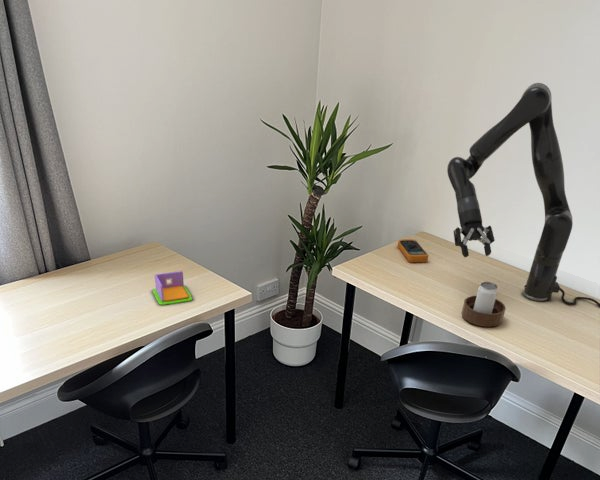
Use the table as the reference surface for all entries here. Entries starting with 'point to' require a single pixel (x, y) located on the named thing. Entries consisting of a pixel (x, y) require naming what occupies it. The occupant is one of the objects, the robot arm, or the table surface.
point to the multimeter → (412, 250)
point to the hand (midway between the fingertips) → (477, 255)
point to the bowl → (482, 318)
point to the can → (486, 298)
